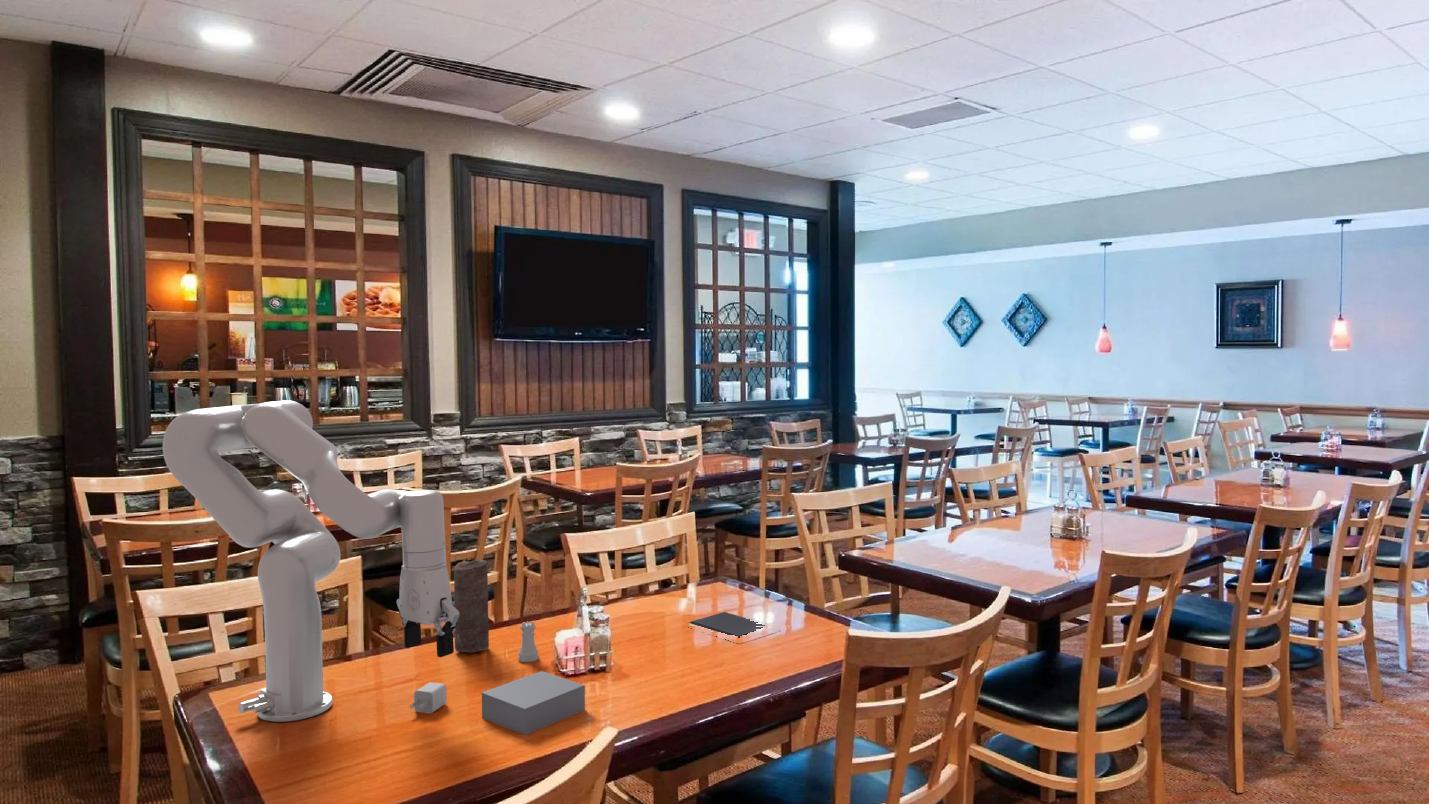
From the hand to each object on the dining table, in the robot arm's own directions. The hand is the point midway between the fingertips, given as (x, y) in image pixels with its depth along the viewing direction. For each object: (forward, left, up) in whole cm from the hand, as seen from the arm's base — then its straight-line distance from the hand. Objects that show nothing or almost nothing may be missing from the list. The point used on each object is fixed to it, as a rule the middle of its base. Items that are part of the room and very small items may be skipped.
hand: (429, 650), depth 163 cm
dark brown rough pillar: (+26, +21, -12) cm, 35 cm away
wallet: (+74, -15, -12) cm, 76 cm away
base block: (+11, -16, -12) cm, 23 cm away
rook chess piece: (+30, +7, -12) cm, 32 cm away
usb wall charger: (0, +1, -12) cm, 12 cm away
